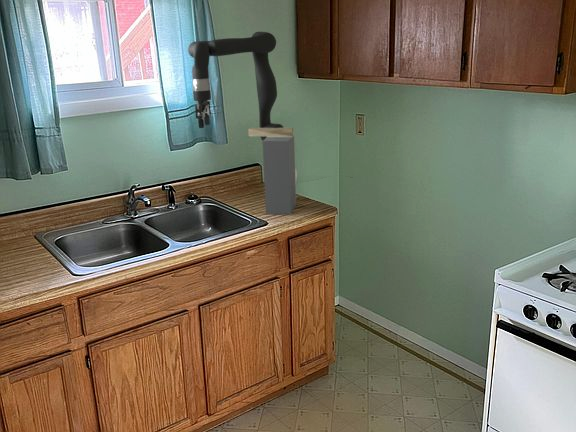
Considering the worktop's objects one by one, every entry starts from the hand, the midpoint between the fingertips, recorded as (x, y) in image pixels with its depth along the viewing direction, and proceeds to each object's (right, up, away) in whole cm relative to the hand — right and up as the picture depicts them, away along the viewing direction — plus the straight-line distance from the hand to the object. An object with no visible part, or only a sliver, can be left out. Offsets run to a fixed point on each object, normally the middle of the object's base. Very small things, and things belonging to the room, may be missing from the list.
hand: (204, 126), depth 262 cm
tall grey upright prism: (+34, -37, 0) cm, 50 cm away
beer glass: (+38, -32, +13) cm, 52 cm away
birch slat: (+30, -5, -6) cm, 31 cm away
